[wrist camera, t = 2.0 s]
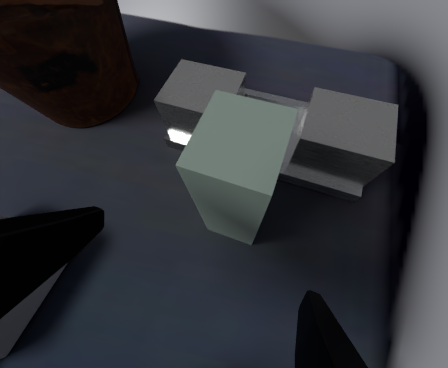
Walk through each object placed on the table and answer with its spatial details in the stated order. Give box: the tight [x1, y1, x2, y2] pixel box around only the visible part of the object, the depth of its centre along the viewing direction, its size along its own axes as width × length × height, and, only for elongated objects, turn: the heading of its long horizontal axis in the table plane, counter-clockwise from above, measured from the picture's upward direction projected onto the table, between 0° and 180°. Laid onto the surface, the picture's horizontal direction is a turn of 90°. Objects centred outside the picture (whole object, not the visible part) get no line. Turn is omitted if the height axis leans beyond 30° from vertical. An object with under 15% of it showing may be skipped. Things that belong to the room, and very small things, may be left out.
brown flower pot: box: [0, 0, 139, 128], centre depth 22 cm, size 18×20×18 cm
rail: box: [154, 59, 398, 202], centre depth 22 cm, size 8×21×6 cm, turn 69°
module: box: [176, 90, 298, 245], centre depth 16 cm, size 5×4×12 cm
